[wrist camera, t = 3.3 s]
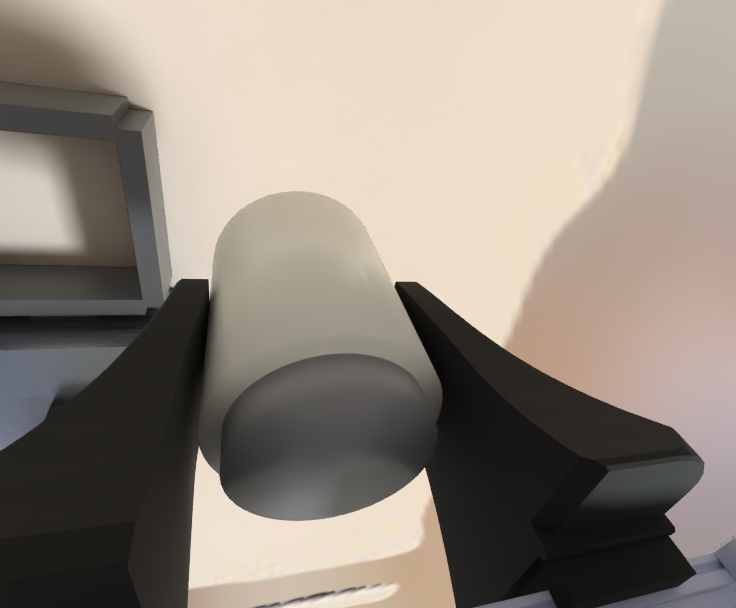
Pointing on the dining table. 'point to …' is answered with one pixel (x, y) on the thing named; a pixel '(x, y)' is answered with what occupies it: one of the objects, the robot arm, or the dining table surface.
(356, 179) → the dining table surface
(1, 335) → the drawer
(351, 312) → the white gray cylinder
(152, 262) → the dark grey square tray
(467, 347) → the robot arm
